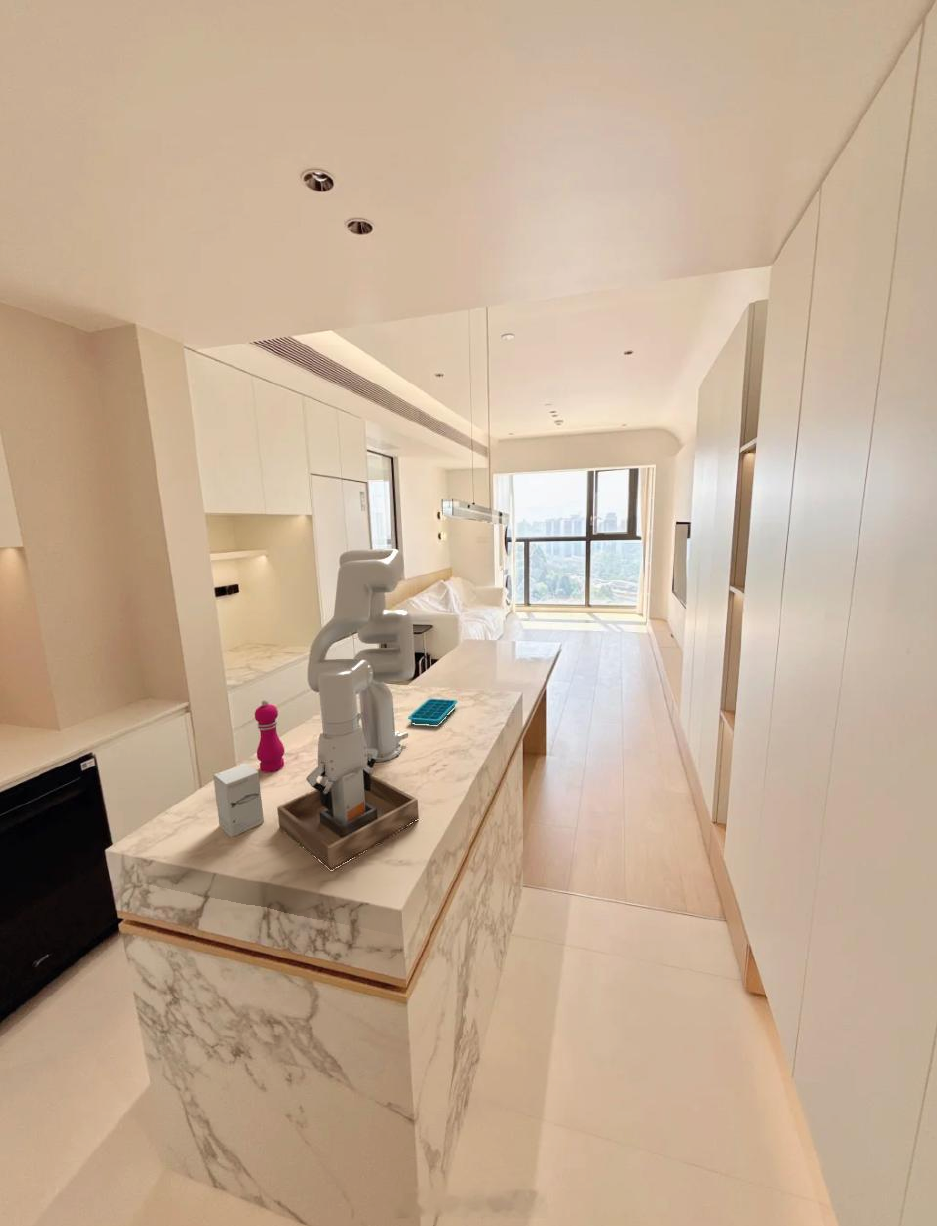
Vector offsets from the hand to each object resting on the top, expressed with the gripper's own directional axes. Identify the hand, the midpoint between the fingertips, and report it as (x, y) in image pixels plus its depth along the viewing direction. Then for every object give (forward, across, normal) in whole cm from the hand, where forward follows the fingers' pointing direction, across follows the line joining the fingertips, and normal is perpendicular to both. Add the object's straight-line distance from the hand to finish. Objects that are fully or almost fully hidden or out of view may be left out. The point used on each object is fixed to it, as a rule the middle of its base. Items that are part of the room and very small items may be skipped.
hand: (347, 797), depth 106 cm
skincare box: (+6, 0, 0) cm, 6 cm away
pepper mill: (+7, -1, -41) cm, 41 cm away
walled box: (+6, 0, 0) cm, 6 cm away
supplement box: (+6, +16, -19) cm, 26 cm away
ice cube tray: (+7, -56, -33) cm, 65 cm away
